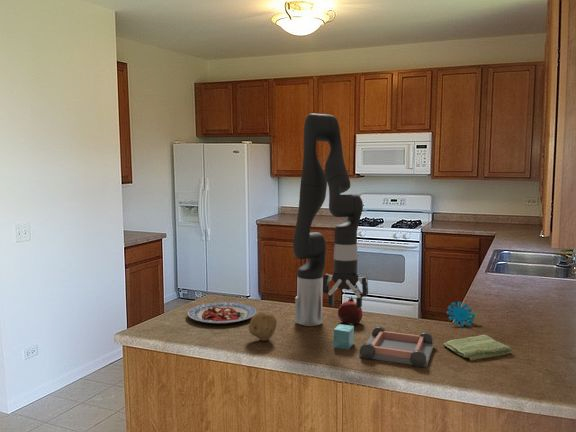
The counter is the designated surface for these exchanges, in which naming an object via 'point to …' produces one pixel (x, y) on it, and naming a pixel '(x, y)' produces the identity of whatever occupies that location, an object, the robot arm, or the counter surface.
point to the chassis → (398, 347)
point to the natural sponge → (263, 325)
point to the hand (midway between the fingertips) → (345, 307)
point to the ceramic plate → (222, 312)
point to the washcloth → (477, 347)
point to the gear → (461, 314)
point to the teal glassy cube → (343, 336)
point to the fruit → (349, 312)
